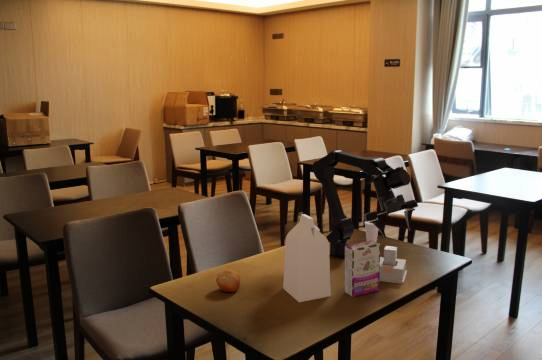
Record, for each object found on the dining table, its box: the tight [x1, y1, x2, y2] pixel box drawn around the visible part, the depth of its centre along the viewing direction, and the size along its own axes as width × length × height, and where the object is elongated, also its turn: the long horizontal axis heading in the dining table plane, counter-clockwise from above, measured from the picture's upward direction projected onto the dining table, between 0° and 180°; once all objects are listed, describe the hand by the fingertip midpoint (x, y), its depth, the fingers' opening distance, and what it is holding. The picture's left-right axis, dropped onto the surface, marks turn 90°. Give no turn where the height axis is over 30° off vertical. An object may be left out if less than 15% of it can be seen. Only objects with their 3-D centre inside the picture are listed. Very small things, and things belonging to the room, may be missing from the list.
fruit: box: [215, 268, 241, 293], centre depth 174 cm, size 8×8×8 cm
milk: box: [282, 213, 332, 303], centre depth 170 cm, size 12×12×26 cm
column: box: [383, 245, 398, 266], centre depth 184 cm, size 4×4×10 cm
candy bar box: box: [344, 240, 381, 298], centre depth 171 cm, size 11×5×16 cm, turn 117°
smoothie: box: [364, 221, 379, 243], centre depth 218 cm, size 6×6×14 cm
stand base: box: [379, 256, 408, 285], centre depth 185 cm, size 11×11×5 cm
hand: (397, 234), depth 185 cm, fingers open, 9 cm apart
